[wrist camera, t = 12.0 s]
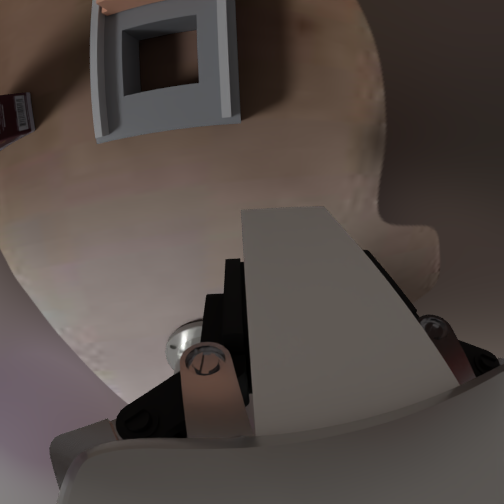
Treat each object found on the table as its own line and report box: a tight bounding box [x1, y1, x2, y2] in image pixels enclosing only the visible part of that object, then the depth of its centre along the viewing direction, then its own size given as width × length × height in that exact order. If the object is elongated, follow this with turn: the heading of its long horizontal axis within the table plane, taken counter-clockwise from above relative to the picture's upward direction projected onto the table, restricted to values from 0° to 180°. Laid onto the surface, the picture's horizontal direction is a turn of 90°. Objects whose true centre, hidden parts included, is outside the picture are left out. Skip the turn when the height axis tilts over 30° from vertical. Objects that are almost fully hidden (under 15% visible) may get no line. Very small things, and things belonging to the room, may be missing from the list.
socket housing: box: [90, 0, 241, 144], centre depth 14 cm, size 18×11×5 cm, turn 2°
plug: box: [241, 206, 460, 436], centre depth 8 cm, size 4×4×13 cm
